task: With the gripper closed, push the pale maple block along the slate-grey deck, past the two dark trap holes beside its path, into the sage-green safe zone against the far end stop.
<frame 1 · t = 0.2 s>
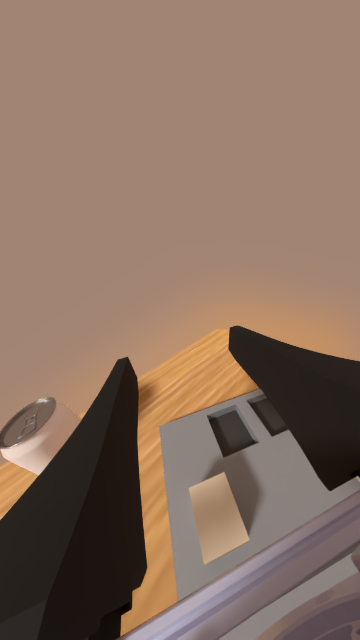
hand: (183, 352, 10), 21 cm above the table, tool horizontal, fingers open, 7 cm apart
block: (217, 518, 15), point 2 cm above the table, touching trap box
can: (79, 456, 23), on the table
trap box: (262, 463, 19), on the table
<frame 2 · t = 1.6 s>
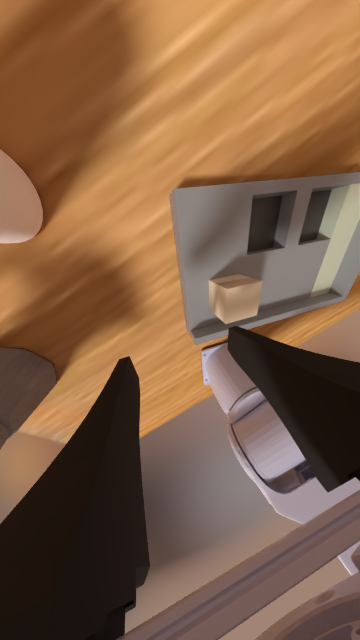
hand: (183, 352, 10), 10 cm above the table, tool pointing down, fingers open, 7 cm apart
coffeepot: (3, 371, 17), on the table
block: (223, 292, 18), point 2 cm above the table, touching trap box
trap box: (266, 259, 20), on the table
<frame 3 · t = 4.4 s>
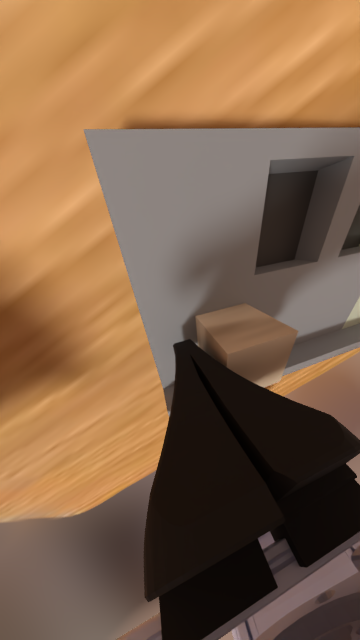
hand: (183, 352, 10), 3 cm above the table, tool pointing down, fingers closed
block: (220, 331, 11), point 2 cm above the table, touching gripper
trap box: (283, 277, 13), on the table
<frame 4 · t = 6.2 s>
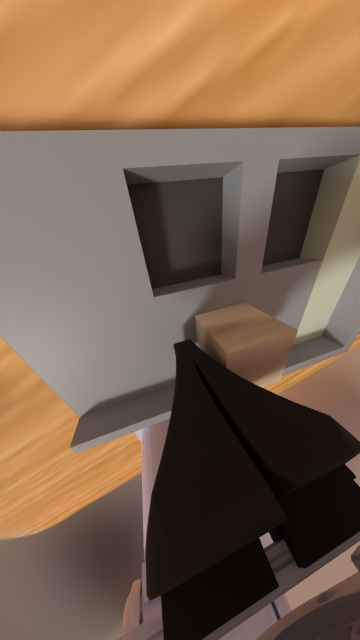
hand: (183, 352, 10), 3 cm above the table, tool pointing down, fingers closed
block: (220, 331, 11), point 2 cm above the table, touching gripper, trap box
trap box: (214, 293, 12), on the table
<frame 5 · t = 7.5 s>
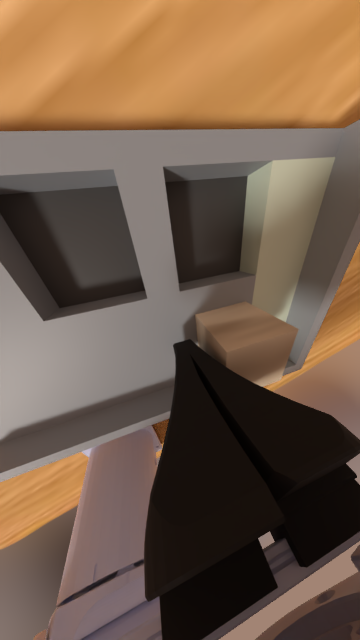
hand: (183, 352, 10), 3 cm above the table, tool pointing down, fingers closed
block: (220, 330, 11), point 2 cm above the table, touching gripper
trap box: (144, 309, 11), on the table
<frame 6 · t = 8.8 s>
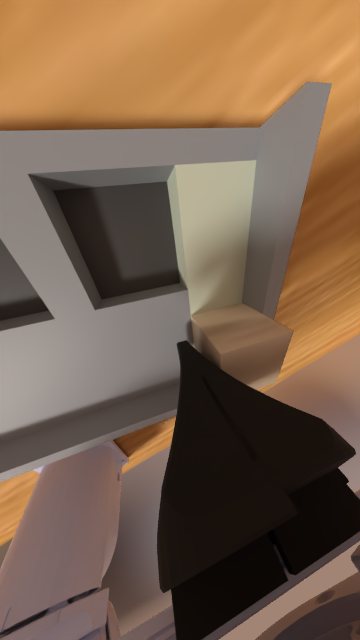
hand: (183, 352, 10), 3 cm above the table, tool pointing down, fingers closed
block: (217, 331, 11), point 2 cm above the table, touching gripper, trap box
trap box: (73, 326, 10), on the table
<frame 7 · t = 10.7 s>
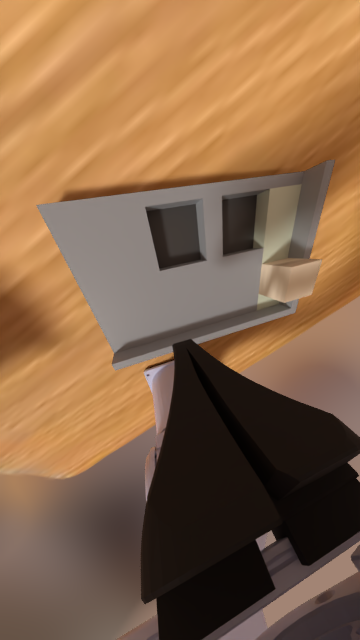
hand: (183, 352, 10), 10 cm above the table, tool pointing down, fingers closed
block: (272, 276, 19), point 2 cm above the table, touching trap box
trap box: (197, 272, 18), on the table
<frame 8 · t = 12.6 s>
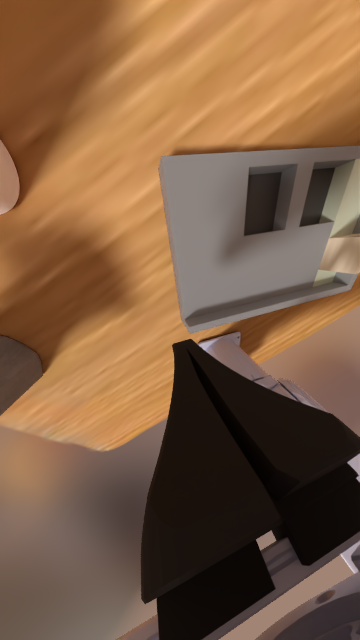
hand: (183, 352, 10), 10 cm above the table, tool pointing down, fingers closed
block: (334, 252, 20), point 2 cm above the table, touching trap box
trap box: (265, 244, 19), on the table
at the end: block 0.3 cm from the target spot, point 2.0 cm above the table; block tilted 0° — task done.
